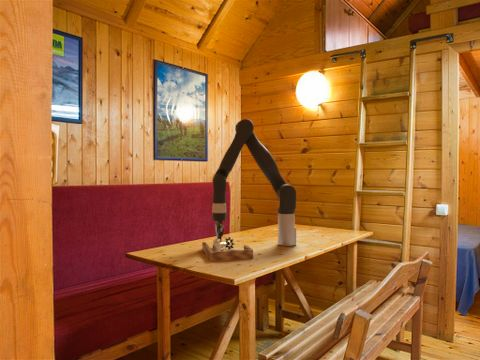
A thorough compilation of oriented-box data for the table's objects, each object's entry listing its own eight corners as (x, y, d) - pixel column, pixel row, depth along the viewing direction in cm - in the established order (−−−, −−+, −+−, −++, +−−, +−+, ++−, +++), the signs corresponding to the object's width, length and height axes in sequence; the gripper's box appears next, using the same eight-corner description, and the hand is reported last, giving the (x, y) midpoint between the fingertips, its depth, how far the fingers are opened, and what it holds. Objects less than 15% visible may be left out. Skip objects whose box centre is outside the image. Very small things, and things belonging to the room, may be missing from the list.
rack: (239, 247, 197) (239, 239, 197) (253, 258, 172) (253, 248, 172) (202, 249, 192) (202, 241, 192) (210, 261, 167) (210, 251, 167)
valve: (218, 254, 183) (234, 250, 192) (218, 240, 182) (234, 237, 192) (209, 252, 187) (225, 248, 196) (209, 239, 187) (225, 236, 196)
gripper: (228, 212, 192) (228, 246, 193) (223, 210, 205) (223, 241, 206) (214, 213, 191) (214, 246, 191) (210, 210, 203) (210, 242, 204)
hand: (219, 243), depth 198 cm, fingers closed
